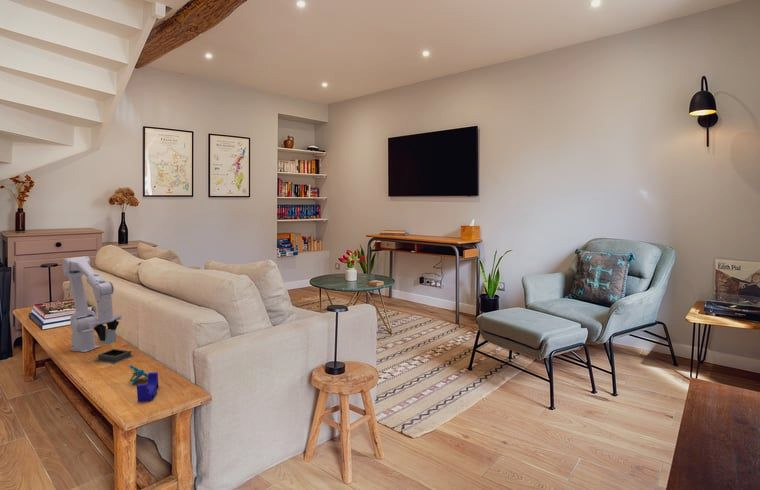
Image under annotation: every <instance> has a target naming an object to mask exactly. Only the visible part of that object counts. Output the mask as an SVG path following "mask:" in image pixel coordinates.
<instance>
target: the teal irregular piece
mask: <svg viewBox="0 0 760 490" xmlns="http://www.w3.org/2000/svg"><path fill="white" fill-rule="evenodd" d="M128 368H129V369H132V370H133V371H132V372H133V373H132V376H131V377H130V379H129V381H132V382H131V384H132V385H135V384H136V382H137V381H138V380H139V378H141V377H142V376H144V377H145V378H147V379H148V373H146V372H145V370H144V369H139V368H137V367H135V366H133V365H131V364H130V365H129V366H128Z"/></svg>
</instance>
